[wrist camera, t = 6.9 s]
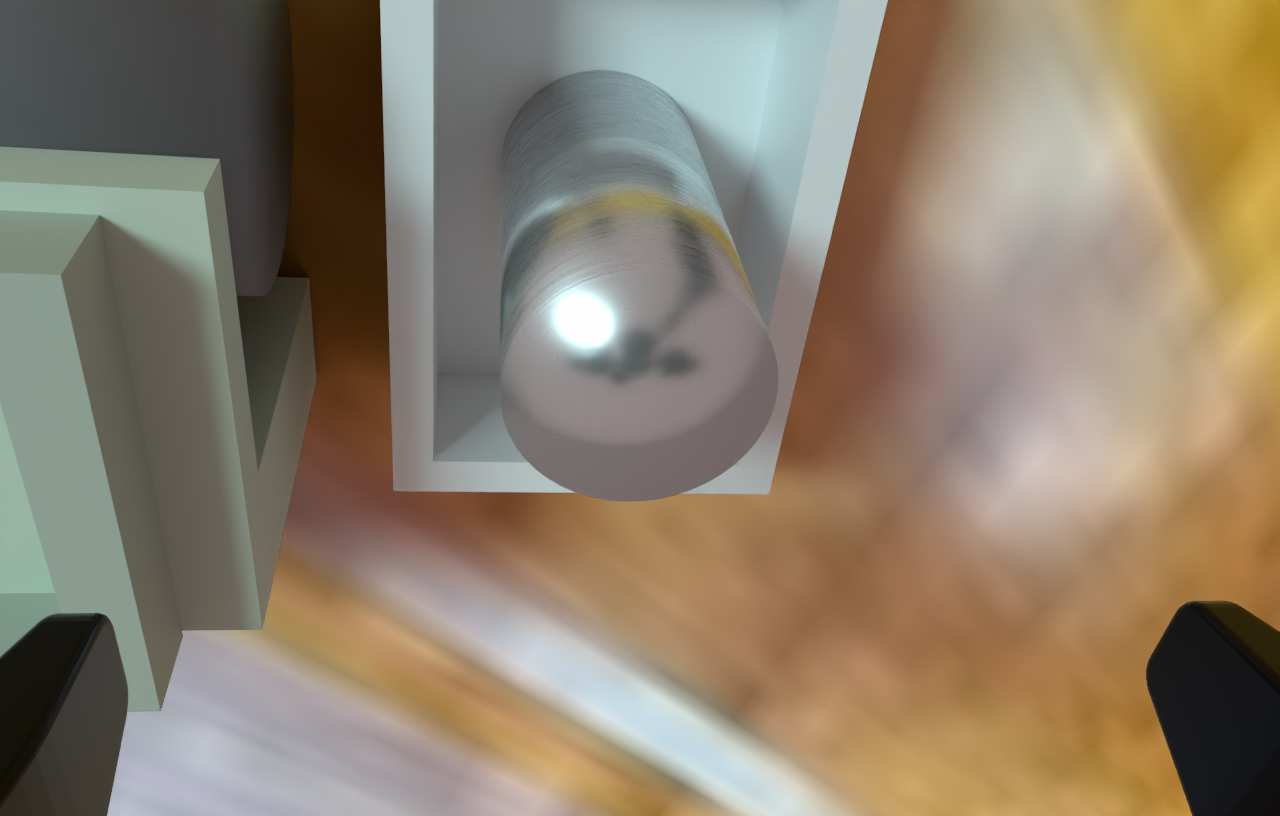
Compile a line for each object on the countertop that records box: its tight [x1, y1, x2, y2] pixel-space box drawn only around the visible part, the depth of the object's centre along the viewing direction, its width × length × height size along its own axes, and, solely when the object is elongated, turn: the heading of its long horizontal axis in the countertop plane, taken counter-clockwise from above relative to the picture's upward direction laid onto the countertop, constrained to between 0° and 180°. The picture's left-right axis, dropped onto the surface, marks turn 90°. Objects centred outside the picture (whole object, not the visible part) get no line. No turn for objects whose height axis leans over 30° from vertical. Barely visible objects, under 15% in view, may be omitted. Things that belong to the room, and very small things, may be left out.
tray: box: [380, 0, 888, 494], centre depth 16 cm, size 6×9×3 cm, turn 173°
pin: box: [500, 70, 778, 501], centre depth 14 cm, size 3×3×6 cm
